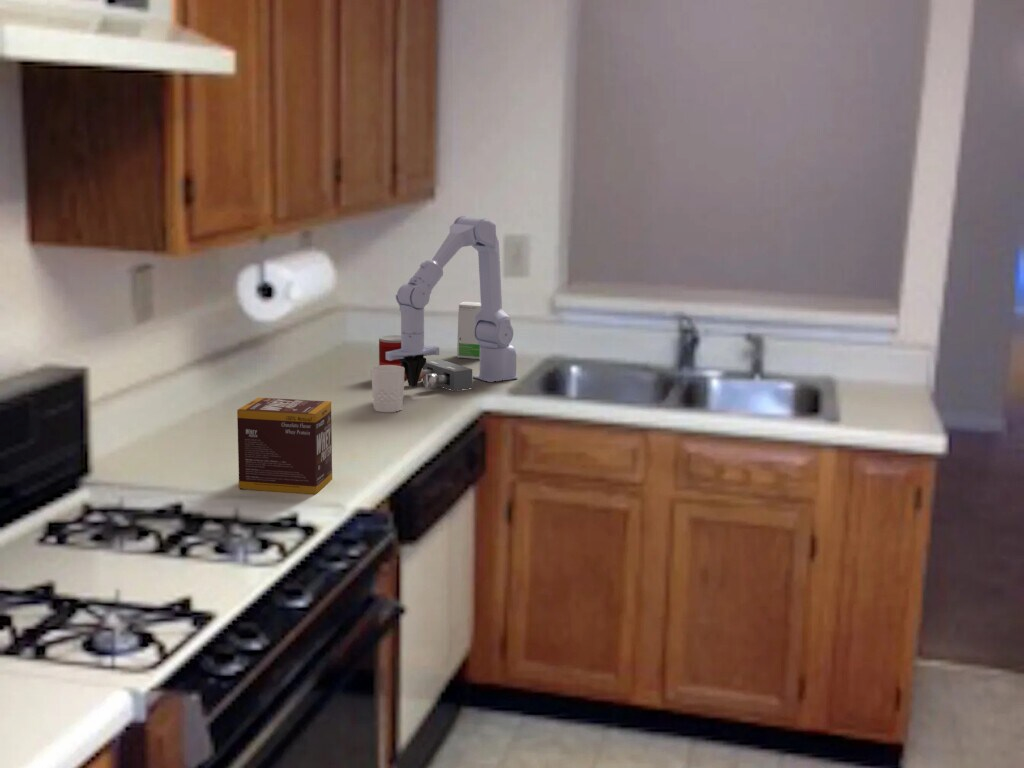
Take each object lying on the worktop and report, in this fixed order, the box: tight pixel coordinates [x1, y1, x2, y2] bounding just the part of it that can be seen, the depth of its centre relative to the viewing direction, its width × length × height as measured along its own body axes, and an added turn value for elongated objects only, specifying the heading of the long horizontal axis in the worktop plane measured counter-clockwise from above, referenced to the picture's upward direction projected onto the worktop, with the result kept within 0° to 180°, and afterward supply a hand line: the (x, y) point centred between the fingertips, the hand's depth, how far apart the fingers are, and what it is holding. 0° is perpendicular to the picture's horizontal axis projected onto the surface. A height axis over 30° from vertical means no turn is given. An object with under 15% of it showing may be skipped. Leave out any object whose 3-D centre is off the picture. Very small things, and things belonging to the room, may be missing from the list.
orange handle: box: [418, 369, 433, 383], centre depth 329 cm, size 8×4×4 cm, turn 126°
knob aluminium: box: [422, 373, 450, 389], centre depth 323 cm, size 8×4×4 cm, turn 126°
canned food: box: [378, 334, 408, 381], centre depth 335 cm, size 8×8×11 cm
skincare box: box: [456, 301, 481, 360], centre depth 365 cm, size 8×7×16 cm
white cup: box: [370, 365, 405, 413], centre depth 301 cm, size 8×8×10 cm
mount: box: [422, 359, 473, 392], centre depth 329 cm, size 6×15×5 cm, turn 36°
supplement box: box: [236, 397, 333, 495], centre depth 240 cm, size 10×15×16 cm
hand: (412, 385), depth 318 cm, fingers closed
